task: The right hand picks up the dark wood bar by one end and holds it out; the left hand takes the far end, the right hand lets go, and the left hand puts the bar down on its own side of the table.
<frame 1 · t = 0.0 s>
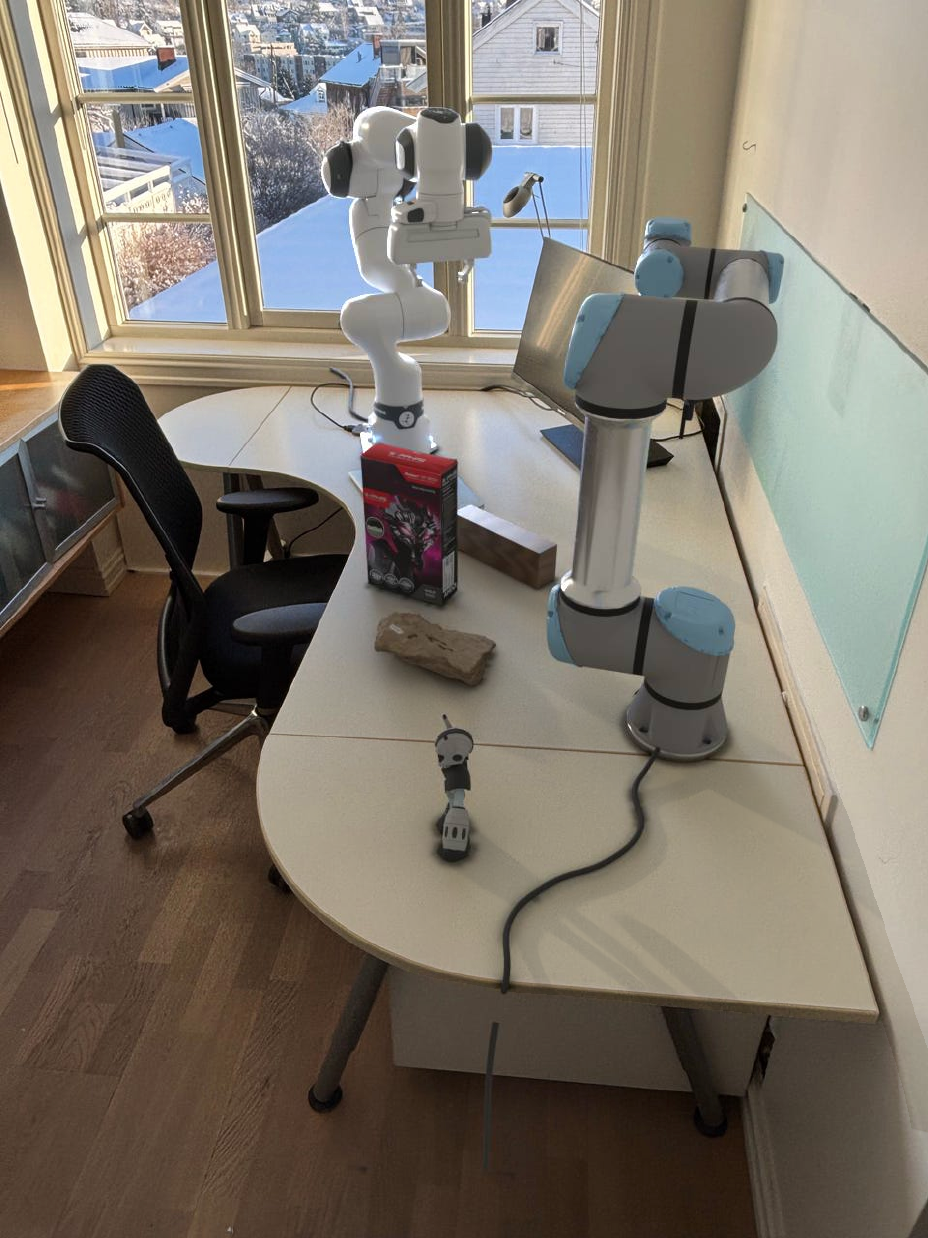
left hand: (440, 284, 179), 48 cm above the table, tool pointing down, fingers open, 8 cm apart
right hand: (643, 432, 170), 28 cm above the table, tool pointing down, fingers open, 13 cm apart
bar: (502, 561, 186), on the table
robot: (453, 839, 124), on the table
stone: (430, 660, 158), on the table
graphics card box: (412, 589, 177), on the table
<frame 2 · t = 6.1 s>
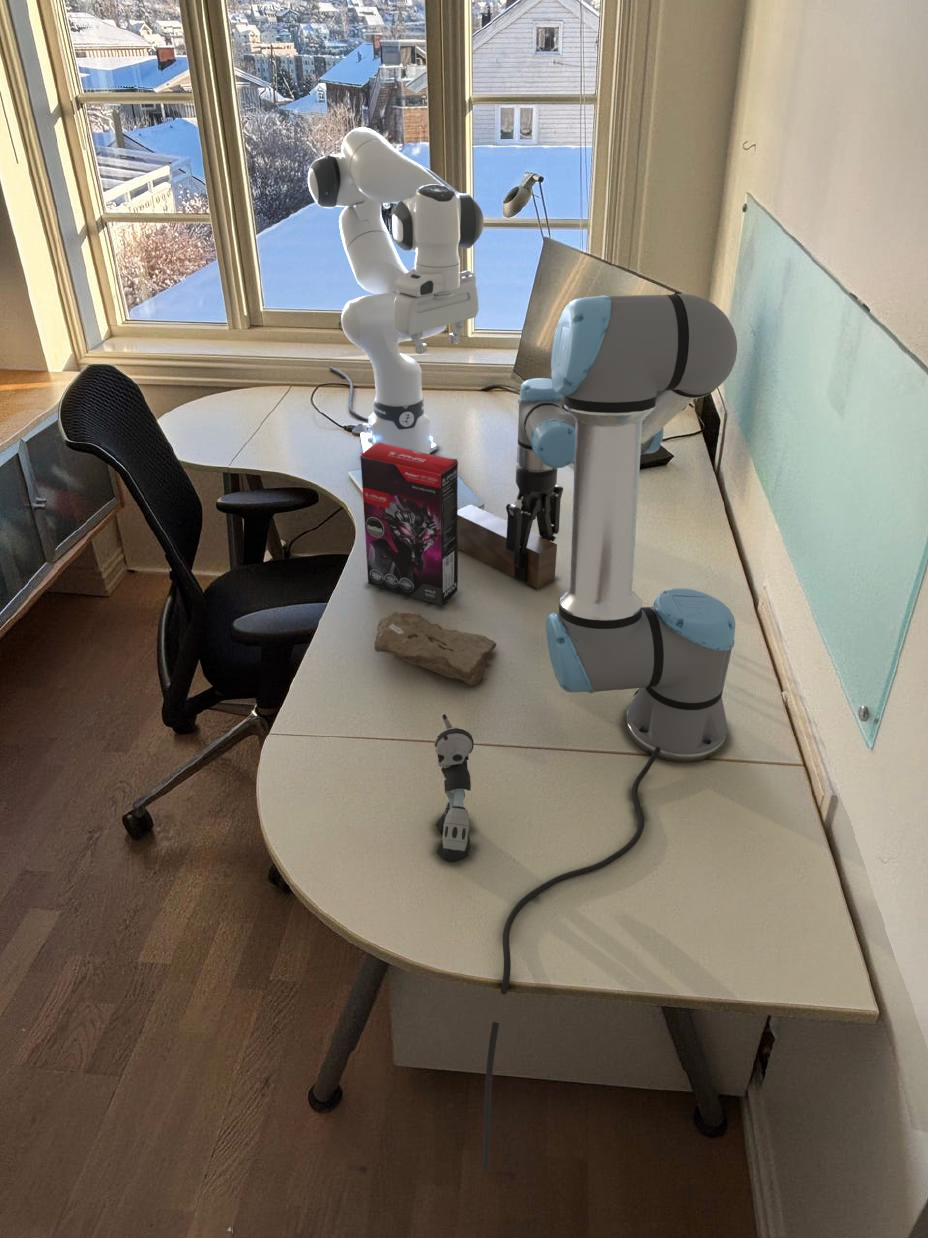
left hand: (438, 347, 188), 35 cm above the table, tool pointing down, fingers open, 8 cm apart
right hand: (530, 573, 181), 1 cm above the table, tool pointing down, fingers closed on bar, 5 cm apart
bar: (502, 561, 186), on the table, touching right hand
everything else where it was.
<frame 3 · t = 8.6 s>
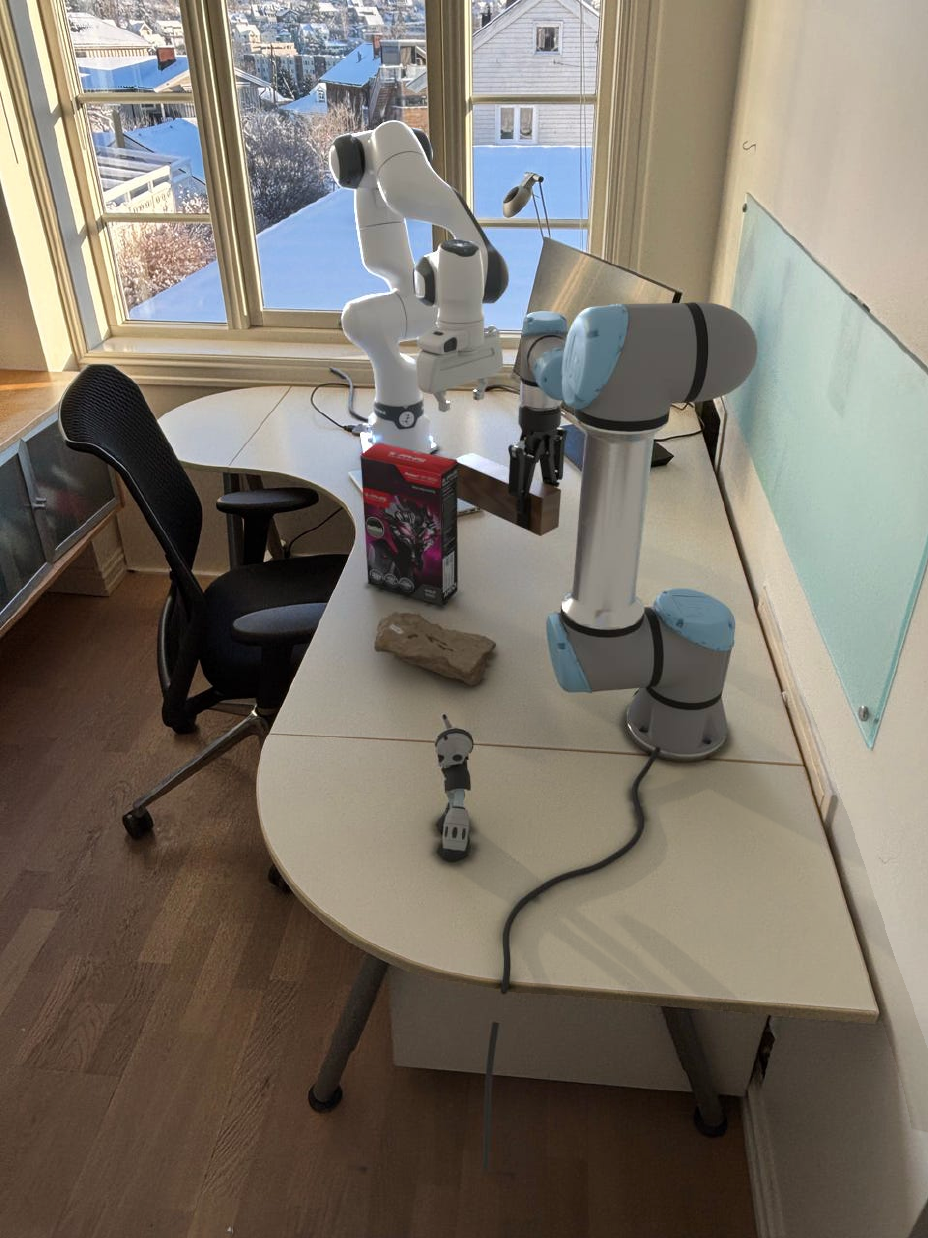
left hand: (461, 404, 181), 28 cm above the table, tool pointing down, fingers open, 8 cm apart
right hand: (533, 521, 174), 12 cm above the table, tool pointing down, fingers closed on bar, 5 cm apart
bar: (503, 510, 179), point 12 cm above the table, touching right hand
everything else where it was.
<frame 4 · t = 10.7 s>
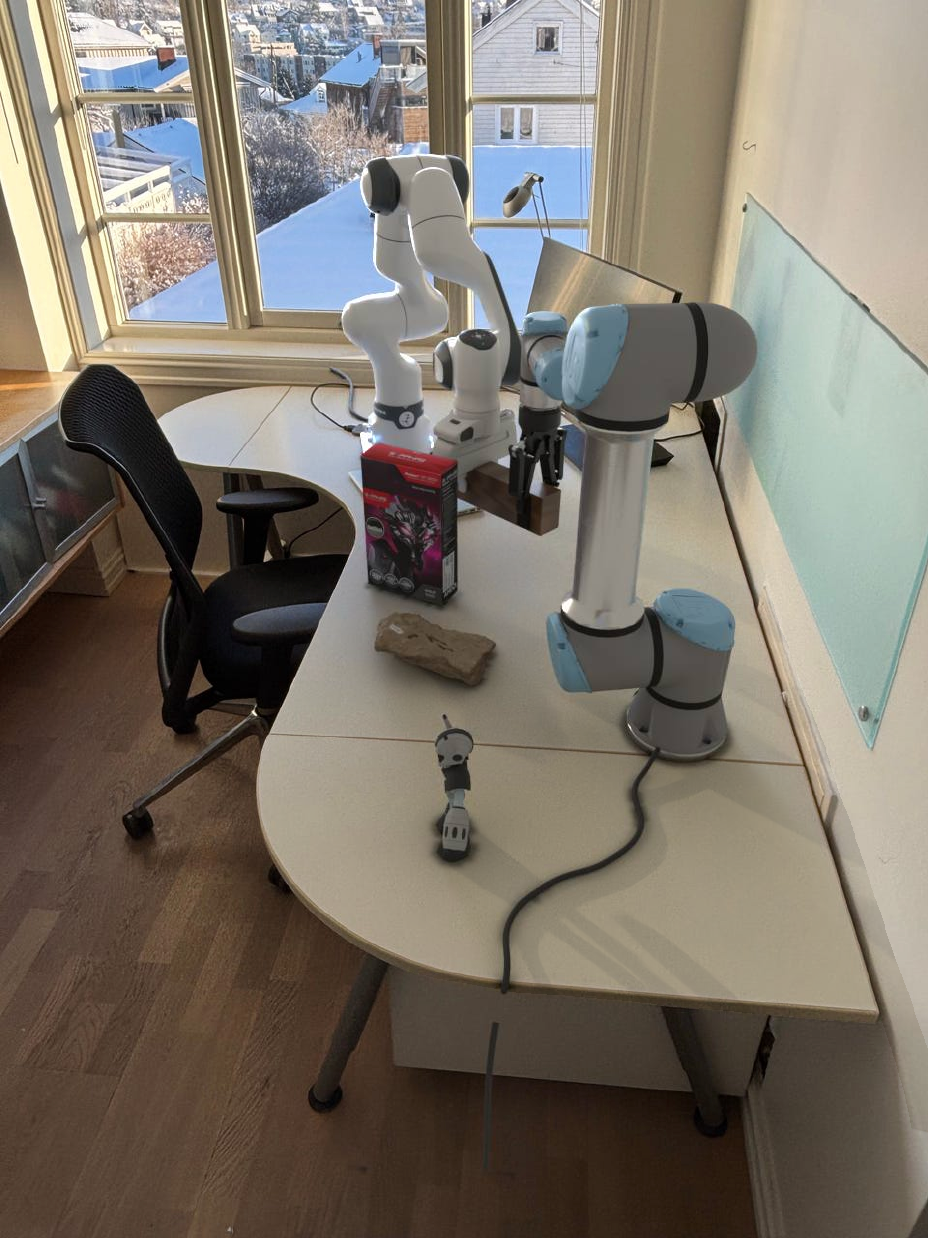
left hand: (475, 485, 182), 14 cm above the table, tool pointing down, fingers closed on bar, 5 cm apart
right hand: (533, 521, 174), 12 cm above the table, tool pointing down, fingers closed on bar, 5 cm apart
bar: (503, 511, 179), point 11 cm above the table, touching right hand, left hand
everything else where it was.
when the right hand's fingers open (12 cm above the table, at t = 11.5 s): bar stays where it is, held by the left hand.
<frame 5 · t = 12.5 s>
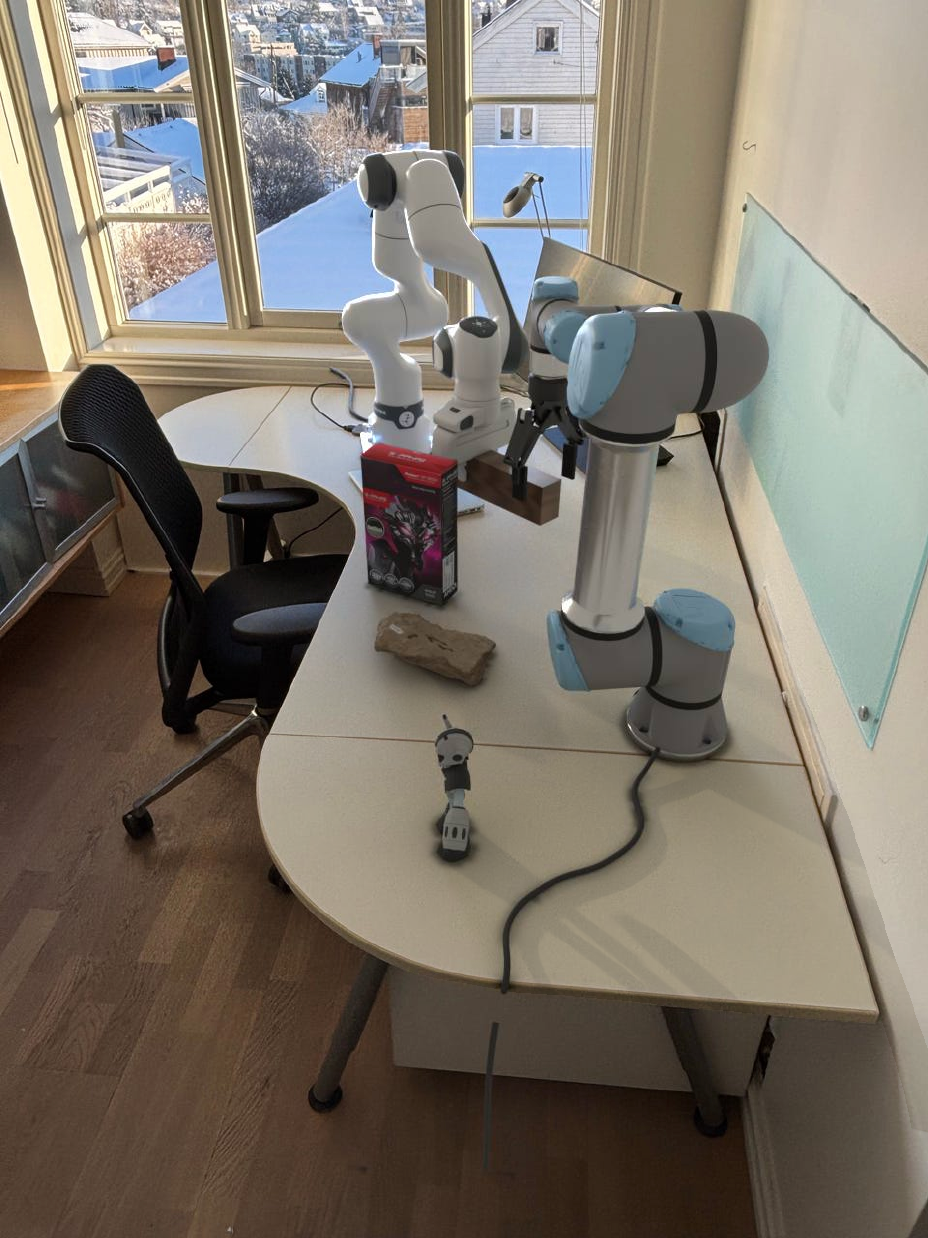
left hand: (475, 474, 181), 16 cm above the table, tool pointing down, fingers closed on bar, 5 cm apart
right hand: (544, 488, 168), 20 cm above the table, tool pointing down, fingers open, 13 cm apart
bar: (503, 500, 178), point 14 cm above the table, touching left hand
everything else where it was.
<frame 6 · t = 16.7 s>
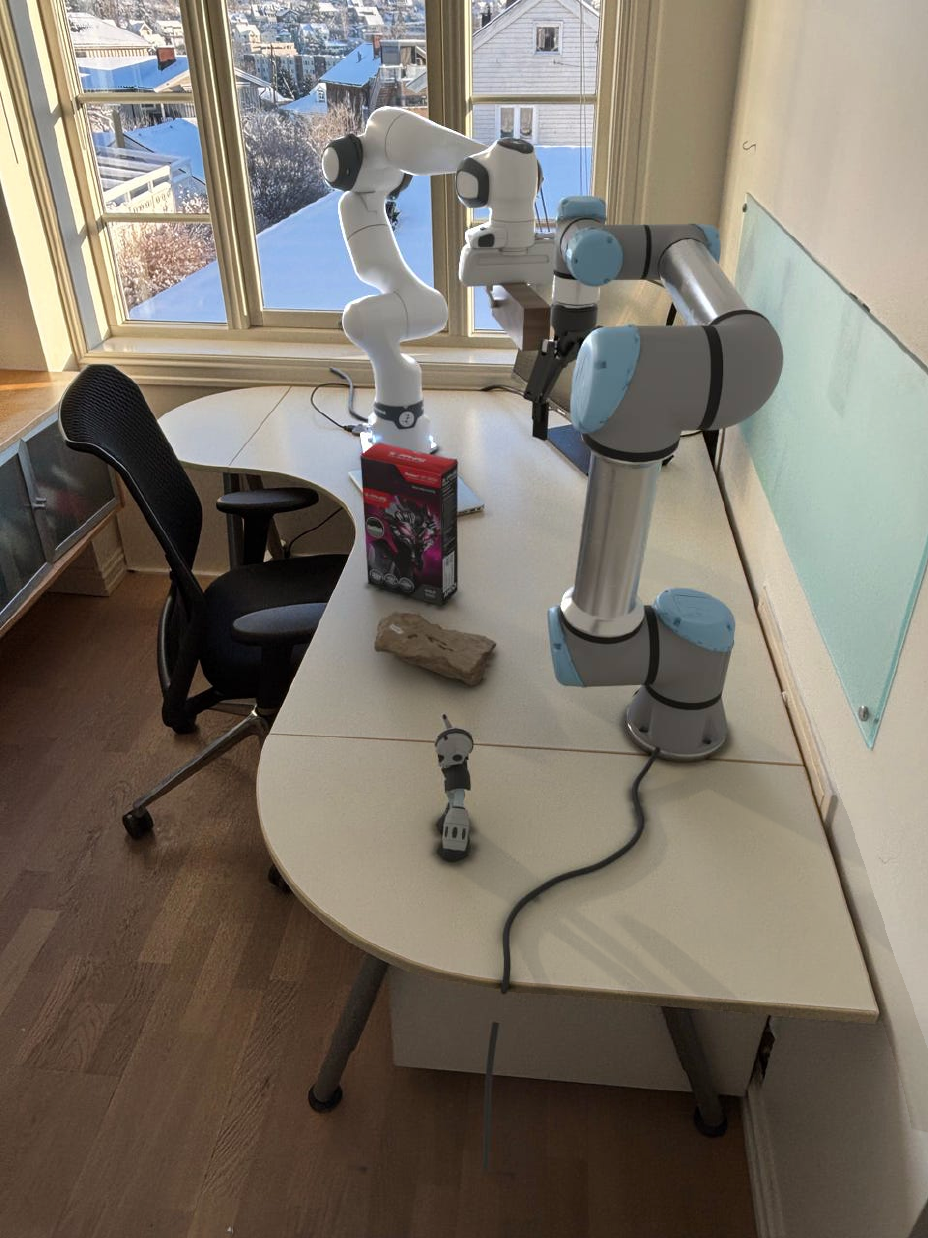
left hand: (509, 306, 185), 43 cm above the table, tool pointing down, fingers closed on bar, 5 cm apart
right hand: (565, 427, 159), 33 cm above the table, tool pointing down, fingers open, 13 cm apart
bar: (518, 331, 181), point 40 cm above the table, touching left hand
everything else where it was.
when the left hand's fingers open (4 cm above the table, at t = 22.8 s): bar stays where it is, on the table.
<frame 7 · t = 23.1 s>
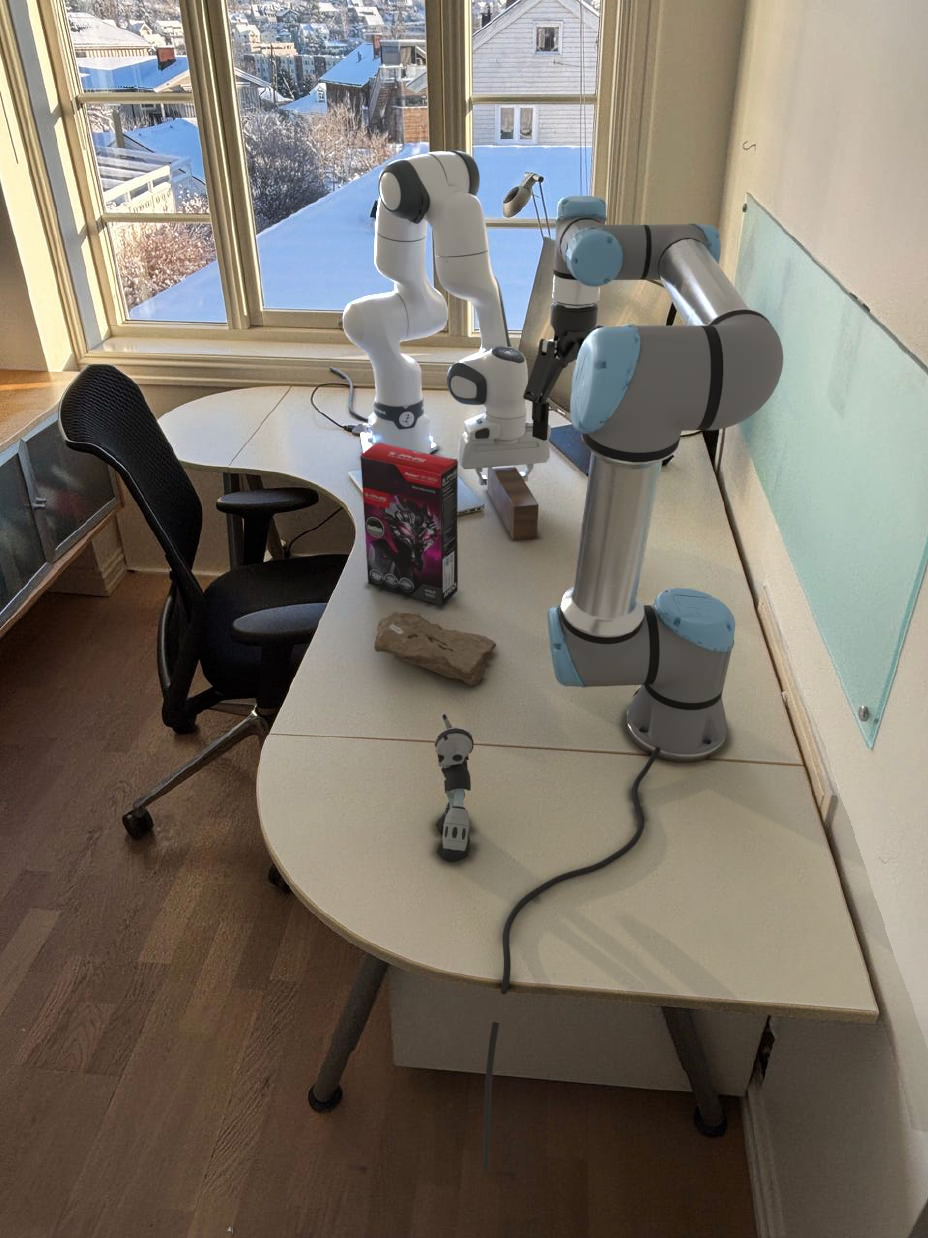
left hand: (503, 482, 207), 4 cm above the table, tool pointing down, fingers open, 8 cm apart
right hand: (565, 427, 159), 33 cm above the table, tool pointing down, fingers open, 13 cm apart
bar: (510, 513, 203), on the table
everything else where it was.
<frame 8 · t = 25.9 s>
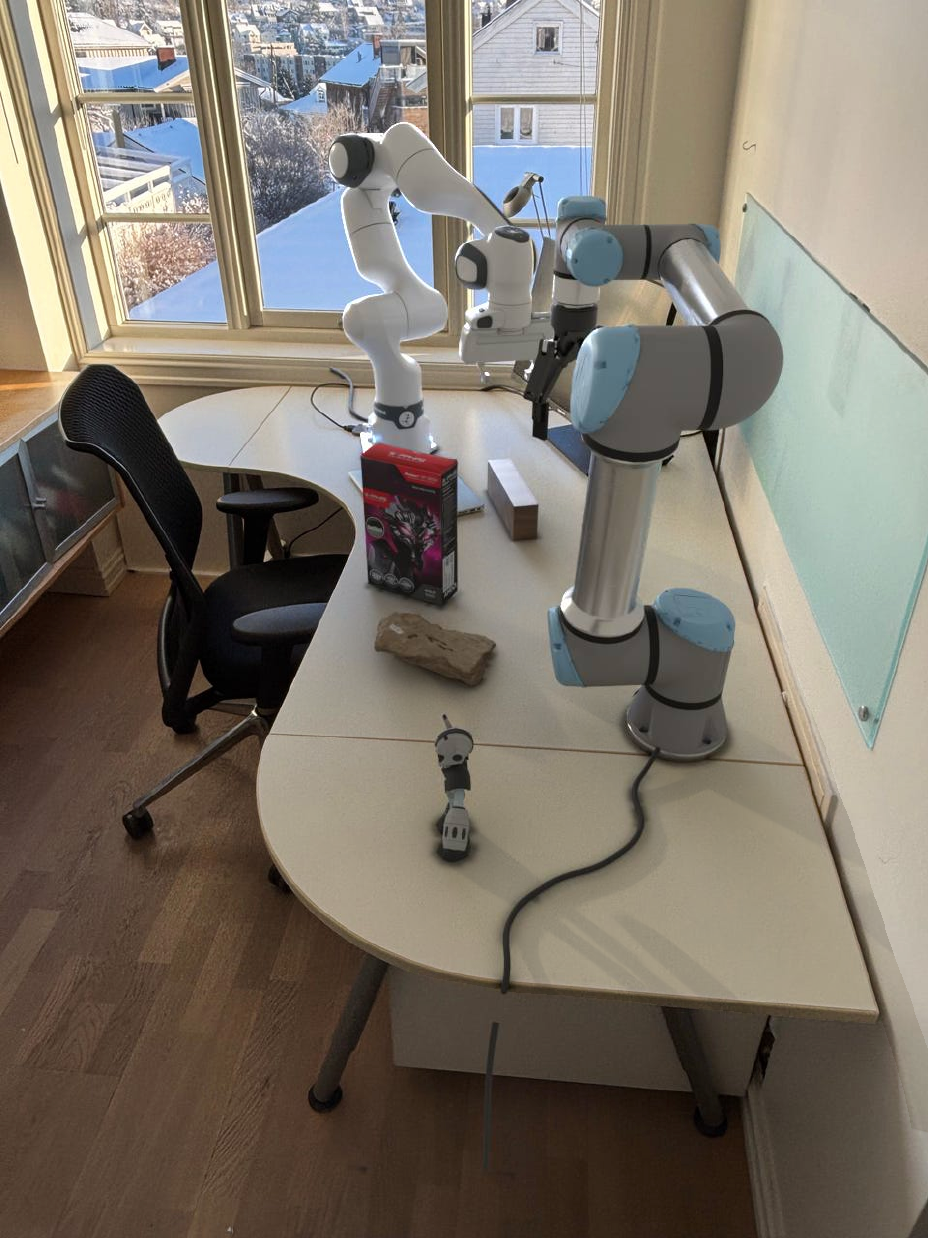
left hand: (507, 380, 194), 28 cm above the table, tool pointing down, fingers open, 8 cm apart
right hand: (565, 427, 159), 33 cm above the table, tool pointing down, fingers open, 13 cm apart
nothing on the table moved.
at the end: bar inside the target area (7.5 cm from its centre), on the table; the left hand is holding nothing; the right hand is holding nothing; bar at rest at the end (0.0 cm/s) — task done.
